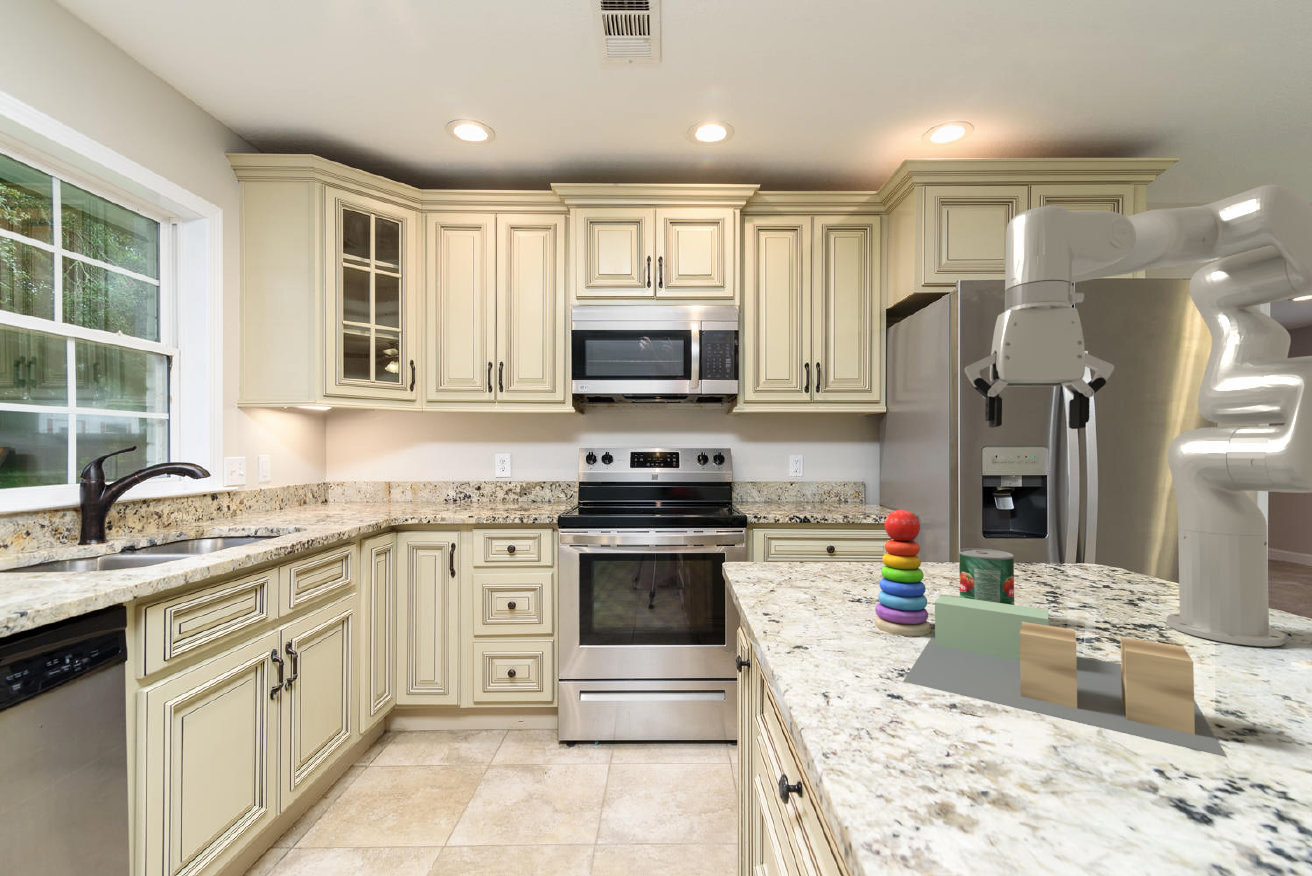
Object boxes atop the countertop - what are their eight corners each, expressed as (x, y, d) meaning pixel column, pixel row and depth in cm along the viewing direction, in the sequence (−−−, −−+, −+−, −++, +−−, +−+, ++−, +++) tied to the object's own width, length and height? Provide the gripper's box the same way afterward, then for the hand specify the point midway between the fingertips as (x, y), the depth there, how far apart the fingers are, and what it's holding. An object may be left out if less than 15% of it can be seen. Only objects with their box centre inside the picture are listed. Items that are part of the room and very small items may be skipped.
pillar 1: (1022, 680, 65) (1021, 621, 65) (1075, 691, 62) (1074, 629, 62) (1020, 696, 61) (1019, 633, 61) (1077, 708, 58) (1076, 642, 58)
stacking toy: (937, 642, 80) (936, 513, 80) (879, 638, 81) (878, 512, 82) (922, 625, 88) (921, 508, 88) (870, 621, 89) (869, 507, 90)
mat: (935, 635, 83) (935, 631, 83) (1180, 679, 67) (1179, 674, 67) (903, 686, 65) (903, 681, 65) (1226, 763, 49) (1226, 756, 49)
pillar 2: (1121, 701, 60) (1120, 637, 60) (1184, 714, 57) (1183, 646, 57) (1126, 719, 56) (1125, 650, 56) (1194, 734, 53) (1193, 661, 53)
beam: (941, 635, 81) (940, 594, 81) (1049, 654, 73) (1048, 609, 73) (935, 645, 77) (934, 602, 77) (1048, 666, 69) (1048, 619, 69)
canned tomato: (1026, 627, 87) (1025, 557, 87) (976, 626, 87) (975, 557, 87) (995, 612, 95) (995, 548, 95) (950, 611, 95) (949, 548, 95)
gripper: (1098, 307, 76) (1097, 430, 75) (959, 312, 80) (957, 427, 80) (1128, 291, 68) (1127, 427, 68) (974, 297, 73) (971, 424, 73)
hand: (1035, 427), depth 74 cm, fingers open, 9 cm apart
